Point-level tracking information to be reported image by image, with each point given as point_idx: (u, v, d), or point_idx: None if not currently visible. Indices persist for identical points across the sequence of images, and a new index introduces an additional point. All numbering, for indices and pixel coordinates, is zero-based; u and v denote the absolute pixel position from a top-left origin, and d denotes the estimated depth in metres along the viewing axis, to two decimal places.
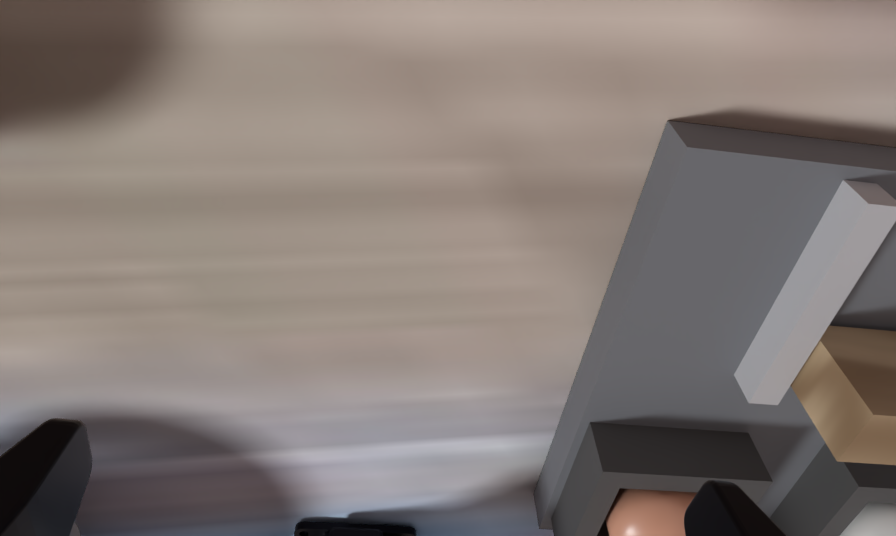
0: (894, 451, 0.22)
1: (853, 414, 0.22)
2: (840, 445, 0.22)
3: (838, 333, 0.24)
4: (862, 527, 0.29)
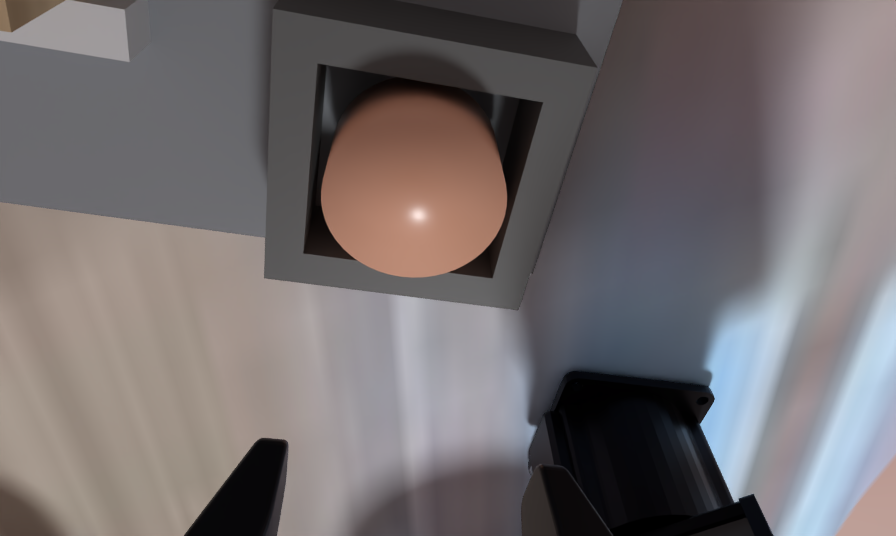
0: None
1: None
2: None
3: None
4: None
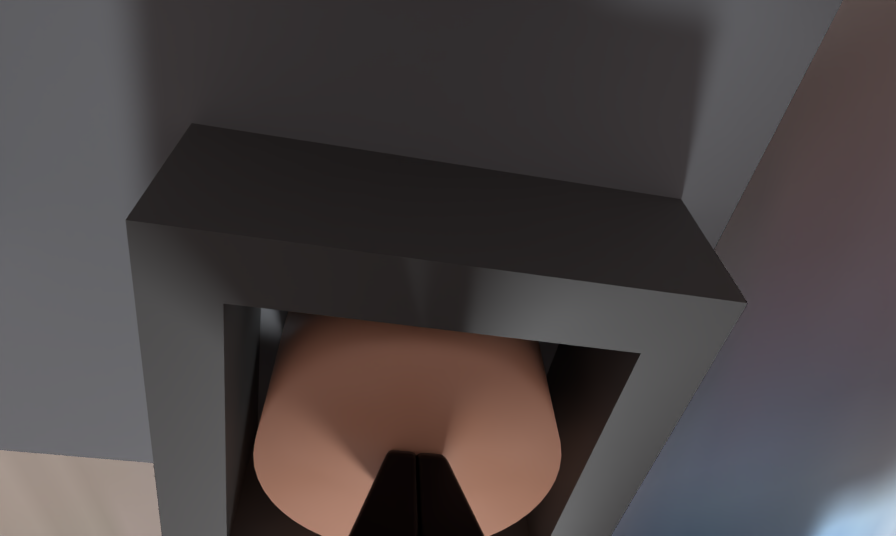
0: None
1: None
2: None
3: None
4: None
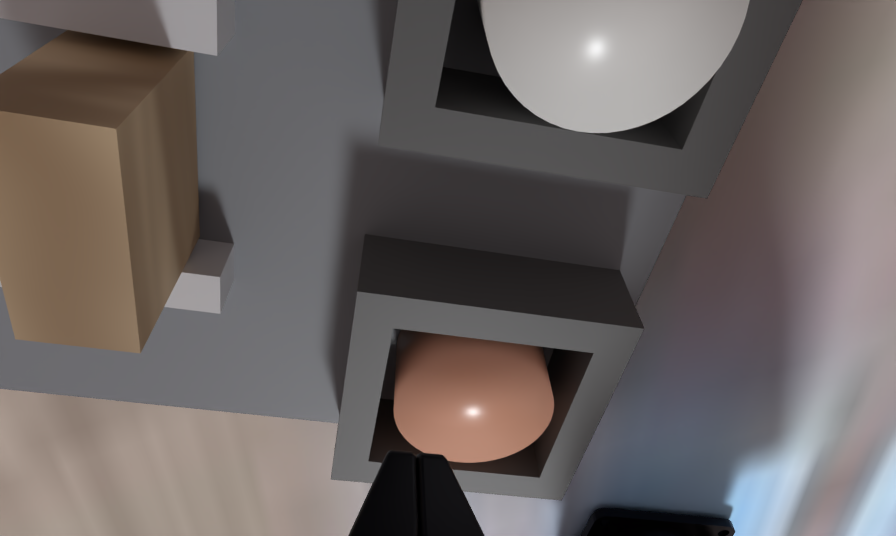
0: (95, 281, 0.12)
1: None
2: (117, 342, 0.14)
3: None
4: None
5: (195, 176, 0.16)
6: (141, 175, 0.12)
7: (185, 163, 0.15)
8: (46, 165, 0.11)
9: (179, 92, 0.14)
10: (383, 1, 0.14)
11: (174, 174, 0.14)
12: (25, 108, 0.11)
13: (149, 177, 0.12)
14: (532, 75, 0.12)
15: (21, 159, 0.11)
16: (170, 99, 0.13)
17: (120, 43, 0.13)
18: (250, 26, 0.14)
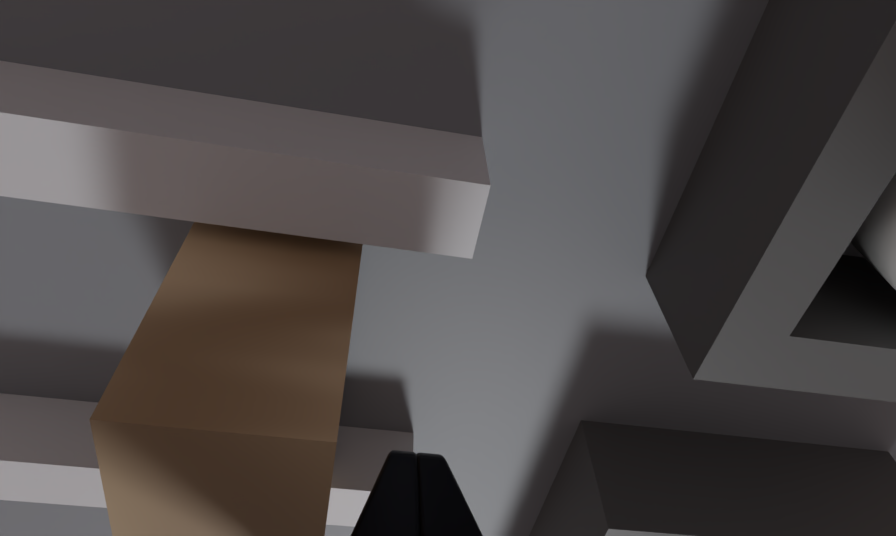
0: None
1: None
2: None
3: None
4: None
5: None
6: None
7: None
8: (219, 485, 0.07)
9: None
10: (676, 165, 0.10)
11: None
12: (195, 413, 0.07)
13: None
14: None
15: (182, 479, 0.07)
16: None
17: None
18: (489, 196, 0.10)
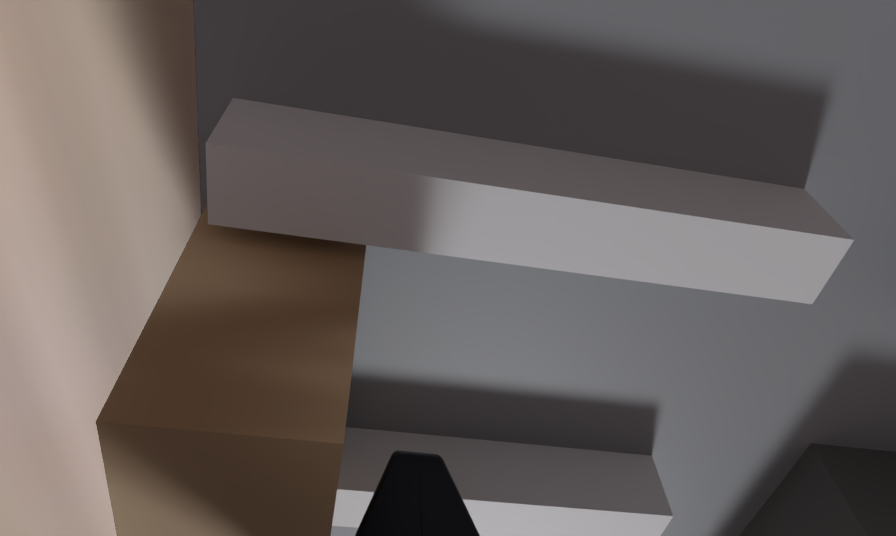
0: None
1: None
2: None
3: None
4: None
5: None
6: None
7: None
8: (225, 486, 0.07)
9: None
10: None
11: None
12: (201, 414, 0.07)
13: None
14: None
15: (188, 481, 0.07)
16: None
17: None
18: None
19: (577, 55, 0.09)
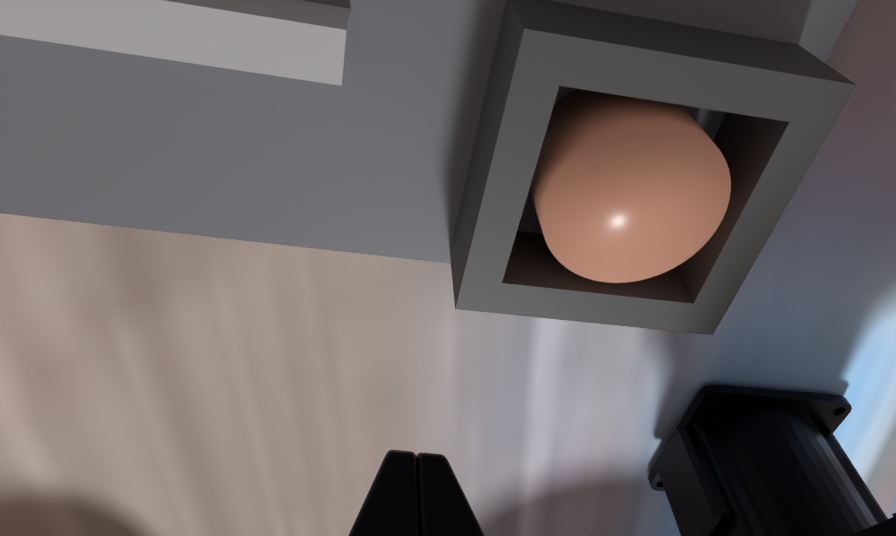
0: None
1: None
2: None
3: None
4: None
5: None
6: None
7: None
8: None
9: None
10: None
11: None
12: None
13: None
14: None
15: None
16: None
17: None
18: None
19: None
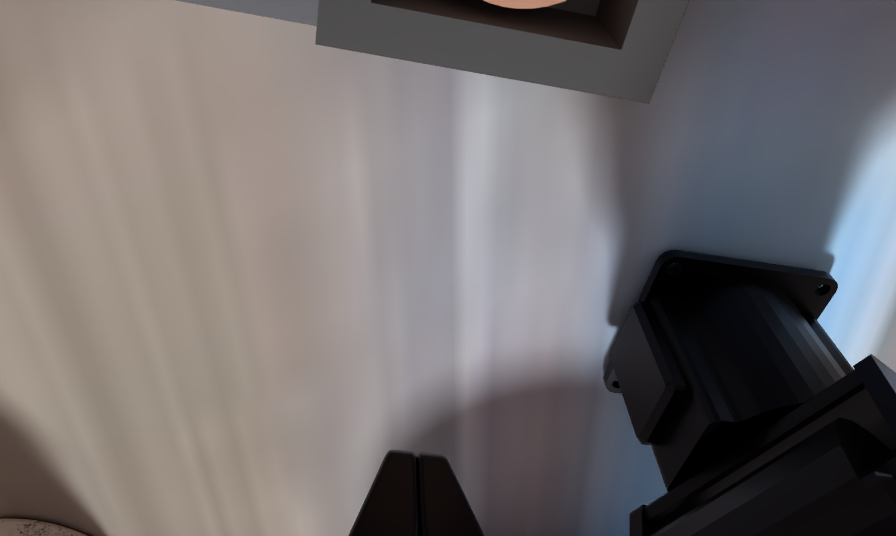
0: None
1: None
2: None
3: None
4: None
5: None
6: None
7: None
8: None
9: None
10: None
11: None
12: None
13: None
14: None
15: None
16: None
17: None
18: None
19: None
